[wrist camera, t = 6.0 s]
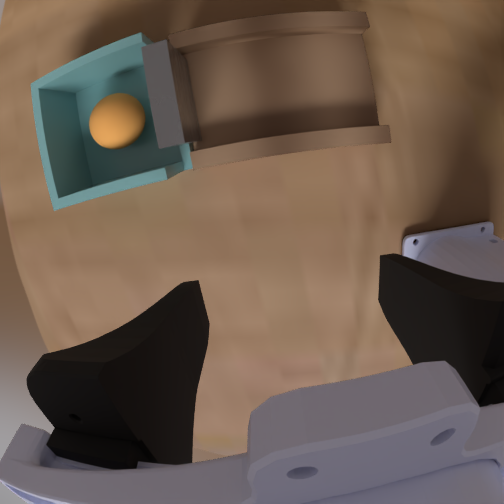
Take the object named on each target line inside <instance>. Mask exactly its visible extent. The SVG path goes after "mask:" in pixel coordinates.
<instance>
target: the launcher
mask: <svg viewBox="0 0 504 504" xmlns="http://www.w3.org/2000/svg"><path fill="white" fill-rule="evenodd" d="M369 27H370V25H369V22H368V18H367V14H366V12H353V11H316V12H296V13H283V14H272V15H264V16H256V17H249V18H242V19H236V20H230V21H225V22H219V23H215V24H210V25H205V26H201V27H196V28H192V29H188V30H184V31H181V32H177V33H173V34H170V35H169V42H170V43H171V44H172V45H173V46H174V47H175V48H176V49H177V50H178V51H179V52H180V53H181V54H182V55H183V56H184V57H185V59H186V60H187V62H188V68H189V73H190V79H191V84H192V90H193V95H194V101H195V106H196V111H197V117H198V122H199V127H200V132H201V138H202V141H198V142H193V143H194V148H195V151H192V152H190V157H191V162H192V166H193V170H197V169H202V168H207V167H212V166H217V165H222V164H227V163H233V162H238V161H244V160H250V159H256V158H262V157H268V156H274V155H281V154H288V153H295V152H302V151H310V150H318V149H327V148H336V147H346V146H356V145H368V144H381V143H391V136H390V128H389V125H381V126H379V121H378V114H377V107H376V101H375V95H374V89H373V84H372V78H371V73H370V68H369V64H368V59H367V54H366V50H365V46H364V41H363V37H362V33H363V32H364V31H365V30H366V29H368V28H369Z"/></svg>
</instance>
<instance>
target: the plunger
mask: <svg viewBox="0 0 504 504" xmlns="http://www.w3.org/2000/svg"><path fill="white" fill-rule="evenodd" d="M141 50H142V57H143V63H144V70H145V76H146V82H147V88H148V94H149V100H150V106H151V111H152V116H153V122H154V127H155V132H156V137H157V142H158V147H159V149H162V148H168V147H173V146H179V145H184V144H189V143H193V142H198V141H202V138H201V132H200V127H199V122H198V117H197V111H196V106H195V101H194V95H193V90H192V84H191V79H190V73H189V68H188V62H187V60H186V59H185V57H184V56H183V55H182V54H181V53H180V52H179V51H178V50H177V49H176V48H175V47H174V46H173V45H172V44H171V43H170V42H169V41H168V40H167V39H166V40H162V41H159V42H156V43H153V44H149V45H146V46H143V47H141Z"/></svg>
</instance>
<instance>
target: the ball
mask: <svg viewBox="0 0 504 504" xmlns="http://www.w3.org/2000/svg"><path fill="white" fill-rule="evenodd" d="M144 125H145V112H144V108H143V106H142V105H141V103H140V102H139V101H138V100H137V99H136V98H135V97H133V96H131V95H129V94H125V93H115V94H111V95H108V96H106V97H104V98H103V99H101V100H100V101H99V102H98V103H97V104H96V106H95V107H94V109H93V110H92V112H91V115H90V119H89V129H90V132H91V135H92V137H93V139H94V140H95V141H96V142H97V143H98V144H99V145H101V146H102V147H105V148H108V149H122V148H125V147H127V146H129V145H131V144H132V143H134V142H135V141H136V140H137V139H138V138H139V136H140V135H141V133H142V131H143V129H144Z"/></svg>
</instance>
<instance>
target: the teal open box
mask: <svg viewBox="0 0 504 504" xmlns="http://www.w3.org/2000/svg"><path fill="white" fill-rule="evenodd" d="M153 43H154V42H153V41H151V40H150V39H149V38H148V37H146V36H145V35H144V34H143V33H141V32H140V33H137V34H135V35H132V36H129V37H126V38H124V39H121V40H119V41H116V42H113V43H111V44H109V45H106V46H104V47H101V48H99V49H97V50H95V51H92V52H90V53H88V54H86V55H84V56H81V57H79V58H77V59H75V60H73V61H71V62H69V63H67V64H65V65H63V66H61V67H60V68H58V69H56V70H54V71H52V72H50V73H49V74H47V75H45V76H43V77H41V78H40V79H38V80H36V81H35V82H33V83H31V93H32V103H33V111H34V118H35V125H36V132H37V138H38V144H39V149H40V154H41V159H42V164H43V169H44V173H45V178H46V182H47V186H48V190H49V194H50V198H51V202H52V205H53V209H54V211H55V210H58V209H61V208H64V207H67V206H71V205H74V204H77V203H80V202H84V201H87V200H90V199H94V198H97V197H101V196H104V195H108V194H111V193H115V192H119V191H123V190H126V189H130V188H134V187H138V186H142V185H146V184H150V183H154V182H158V181H163V180H167V179H169V178H171V177H173V176H175V175H176V174H178V173H180V172H182V171H184V170H188V169H192V168H193V166H192V162H191V157H190V152H192V151H194V147H193V143H189V144H184V145H179V146H173V147H168V148H162V149H159V147H158V142H157V137H156V132H155V127H154V122H153V116H152V111H151V106H150V100H149V94H148V88H147V82H146V76H145V70H144V63H143V57H142V50H141V47H143V46H146V45H149V44H153ZM115 93H125V94H129V95H131V96H133V97H135V98H136V99H137V100H138V101H139V102H140V103H141V105H142V106H143V108H144V112H145V125H144V129H143V131H142V133H141V135H140V136H139V138H138V139H137V140H136V141H135V142H134V143H132V144H131V145H129V146H127V147H125V148H122V149H108V148H105V147H102V146H101V145H99V144H98V143H97V142H96V141H95V140H94V139H93V137H92V135H91V132H90V129H89V119H90V115H91V112H92V110H93V109H94V107H95V106H96V104H97V103H98V102H99V101H100V100H101V99H103V98H104V97H106V96H108V95H111V94H115Z"/></svg>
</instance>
